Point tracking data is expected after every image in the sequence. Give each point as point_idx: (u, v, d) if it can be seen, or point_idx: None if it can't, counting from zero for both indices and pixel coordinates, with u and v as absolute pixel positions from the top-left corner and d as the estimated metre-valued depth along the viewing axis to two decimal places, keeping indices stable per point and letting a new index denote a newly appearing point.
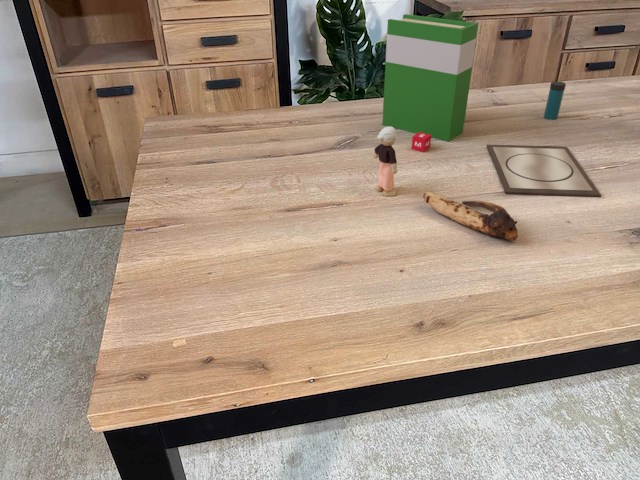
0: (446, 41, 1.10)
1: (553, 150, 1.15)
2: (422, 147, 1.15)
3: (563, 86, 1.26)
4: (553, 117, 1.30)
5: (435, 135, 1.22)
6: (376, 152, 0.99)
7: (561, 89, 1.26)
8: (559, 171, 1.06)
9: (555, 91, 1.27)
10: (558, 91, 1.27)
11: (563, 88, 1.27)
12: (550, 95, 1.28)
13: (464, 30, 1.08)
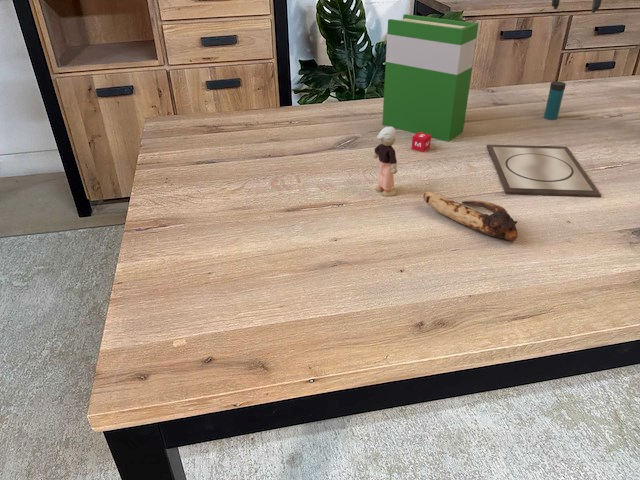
0: (446, 41, 1.10)
1: (553, 150, 1.15)
2: (422, 147, 1.15)
3: (563, 86, 1.26)
4: (553, 117, 1.30)
5: (435, 135, 1.22)
6: (376, 152, 0.99)
7: (561, 89, 1.26)
8: (559, 171, 1.06)
9: (555, 91, 1.27)
10: (558, 91, 1.27)
11: (563, 88, 1.27)
12: (550, 95, 1.28)
13: (464, 30, 1.08)
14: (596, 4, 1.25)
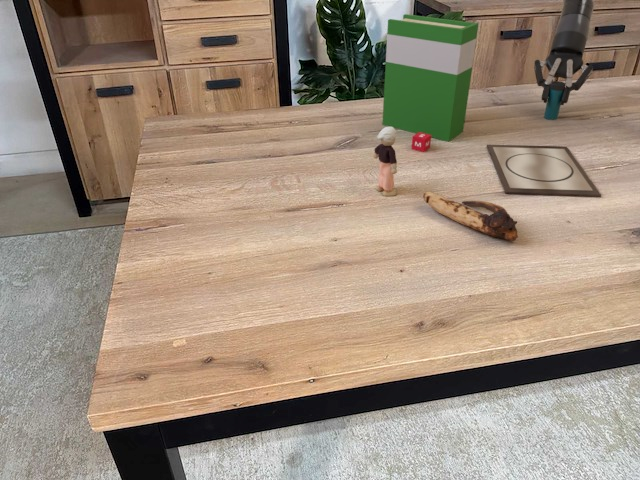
0: (446, 41, 1.10)
1: (553, 150, 1.15)
2: (422, 147, 1.15)
3: (563, 86, 1.26)
4: (553, 117, 1.30)
5: (435, 135, 1.22)
6: (376, 152, 0.99)
7: (561, 89, 1.26)
8: (559, 171, 1.06)
9: (555, 90, 1.27)
10: (557, 91, 1.27)
11: (563, 88, 1.27)
12: (550, 95, 1.28)
13: (464, 30, 1.08)
14: (563, 97, 1.26)
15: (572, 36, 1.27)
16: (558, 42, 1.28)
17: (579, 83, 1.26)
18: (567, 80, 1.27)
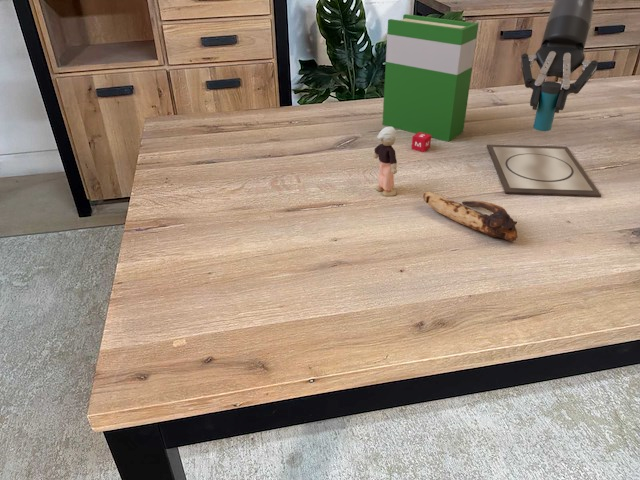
0: (446, 41, 1.10)
1: (553, 150, 1.15)
2: (422, 147, 1.15)
3: (558, 88, 0.96)
4: (545, 128, 1.00)
5: (435, 135, 1.22)
6: (376, 152, 0.99)
7: (555, 91, 0.96)
8: (559, 171, 1.06)
9: (548, 94, 0.97)
10: (551, 94, 0.97)
11: (558, 90, 0.96)
12: (541, 99, 0.98)
13: (464, 30, 1.08)
14: (558, 103, 0.96)
15: (570, 22, 0.96)
16: (552, 30, 0.98)
17: (579, 84, 0.96)
18: (563, 80, 0.97)
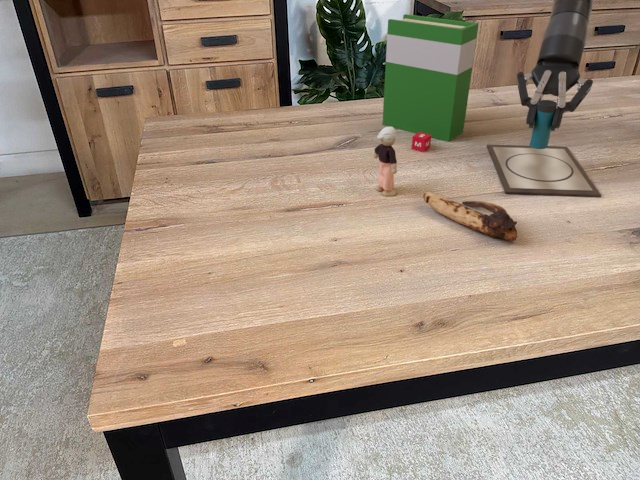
0: (446, 41, 1.10)
1: (553, 150, 1.15)
2: (422, 147, 1.15)
3: (554, 107, 0.97)
4: (542, 146, 1.01)
5: (435, 135, 1.22)
6: (376, 152, 0.99)
7: (551, 110, 0.97)
8: (559, 171, 1.06)
9: (543, 112, 0.98)
10: (547, 113, 0.97)
11: (554, 109, 0.97)
12: (537, 118, 0.99)
13: (464, 30, 1.08)
14: (554, 121, 0.97)
15: (565, 41, 0.97)
16: (548, 49, 0.99)
17: (575, 103, 0.97)
18: (559, 99, 0.98)
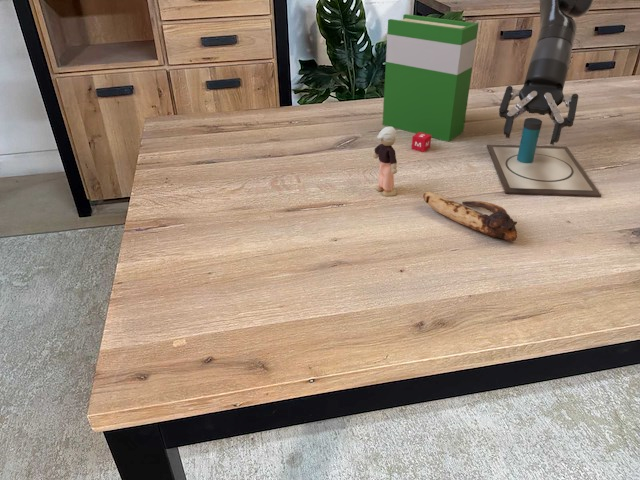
0: (446, 41, 1.10)
1: (553, 150, 1.15)
2: (422, 147, 1.15)
3: (539, 124, 1.05)
4: (528, 160, 1.09)
5: (435, 135, 1.22)
6: (376, 152, 0.99)
7: (536, 128, 1.05)
8: (559, 171, 1.06)
9: (529, 130, 1.05)
10: (532, 130, 1.05)
11: (539, 127, 1.05)
12: (524, 135, 1.07)
13: (464, 30, 1.08)
14: (553, 136, 1.04)
15: (550, 65, 1.05)
16: (534, 71, 1.06)
17: (572, 118, 1.04)
18: (555, 116, 1.05)
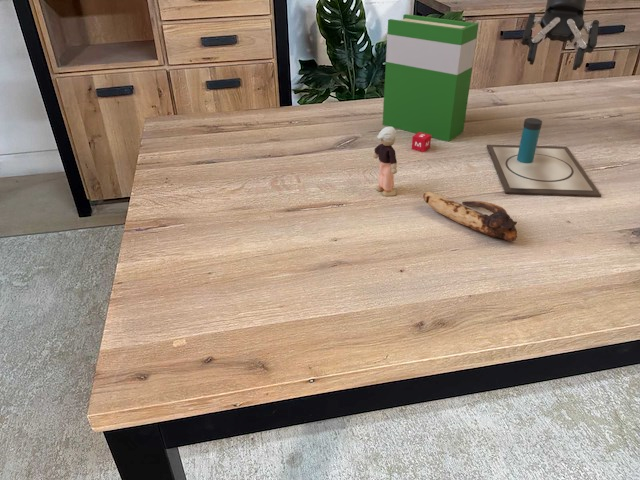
0: (446, 41, 1.10)
1: (553, 150, 1.15)
2: (422, 147, 1.15)
3: (539, 124, 1.05)
4: (528, 160, 1.09)
5: (435, 135, 1.22)
6: (376, 152, 0.99)
7: (536, 128, 1.05)
8: (559, 171, 1.06)
9: (529, 130, 1.05)
10: (532, 130, 1.05)
11: (539, 127, 1.05)
12: (524, 135, 1.07)
13: (464, 30, 1.08)
14: (577, 61, 1.08)
15: None
16: None
17: (595, 43, 1.08)
18: (578, 42, 1.09)
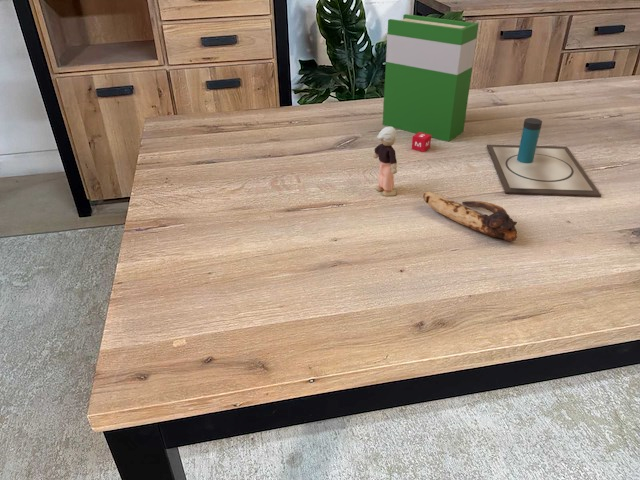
0: (446, 41, 1.10)
1: (553, 150, 1.15)
2: (422, 147, 1.15)
3: (539, 124, 1.05)
4: (528, 160, 1.09)
5: (435, 135, 1.22)
6: (376, 152, 0.99)
7: (536, 128, 1.05)
8: (559, 171, 1.06)
9: (529, 130, 1.05)
10: (532, 130, 1.05)
11: (539, 127, 1.05)
12: (524, 135, 1.07)
13: (464, 30, 1.08)
14: None
15: None
16: None
17: None
18: None
